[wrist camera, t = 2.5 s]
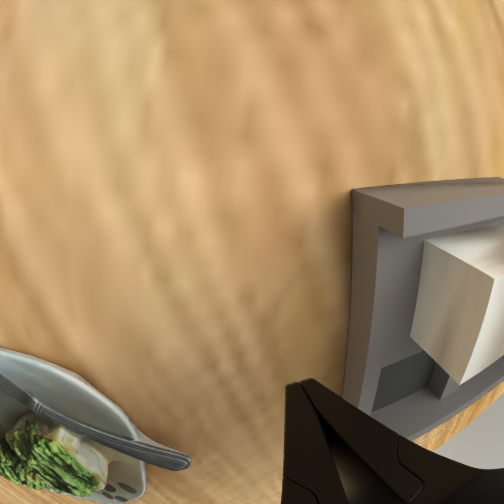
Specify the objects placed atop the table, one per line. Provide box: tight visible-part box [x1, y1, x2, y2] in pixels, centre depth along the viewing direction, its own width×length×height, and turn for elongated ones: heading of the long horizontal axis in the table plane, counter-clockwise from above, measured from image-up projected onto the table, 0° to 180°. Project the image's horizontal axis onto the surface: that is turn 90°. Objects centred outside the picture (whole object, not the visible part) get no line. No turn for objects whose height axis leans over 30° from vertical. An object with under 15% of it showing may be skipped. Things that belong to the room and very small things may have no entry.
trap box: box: [342, 177, 504, 441], centre depth 15 cm, size 19×16×4 cm
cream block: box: [410, 223, 504, 385], centre depth 11 cm, size 6×5×4 cm
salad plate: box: [0, 347, 191, 504], centre depth 12 cm, size 19×18×5 cm
